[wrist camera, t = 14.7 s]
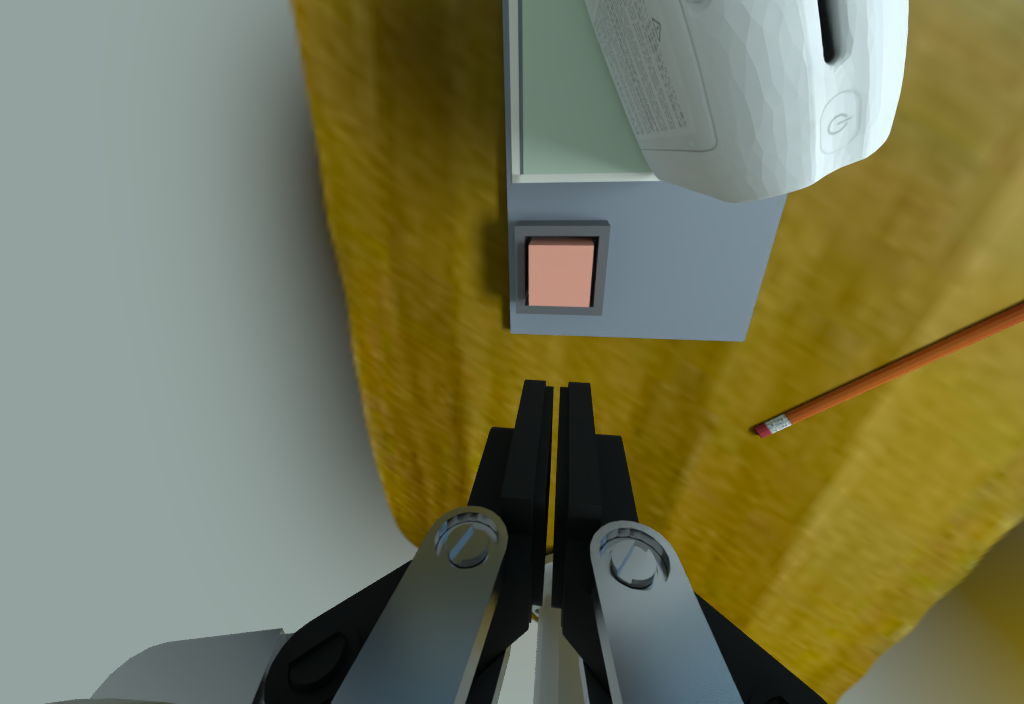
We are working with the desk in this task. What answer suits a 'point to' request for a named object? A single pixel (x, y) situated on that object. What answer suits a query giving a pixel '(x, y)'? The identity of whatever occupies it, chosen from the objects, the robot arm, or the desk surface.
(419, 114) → the desk surface
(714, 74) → the photo printer
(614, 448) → the robot arm
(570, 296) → the button
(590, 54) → the activity board
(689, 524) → the desk surface
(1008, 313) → the pencil
